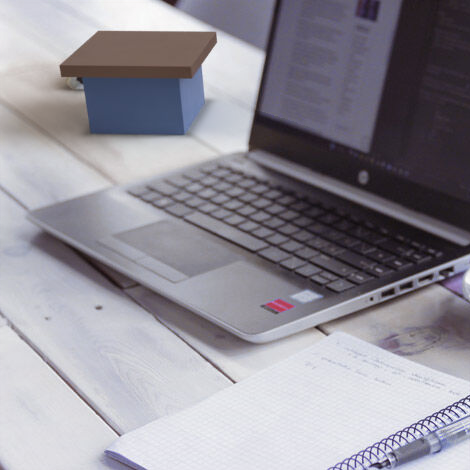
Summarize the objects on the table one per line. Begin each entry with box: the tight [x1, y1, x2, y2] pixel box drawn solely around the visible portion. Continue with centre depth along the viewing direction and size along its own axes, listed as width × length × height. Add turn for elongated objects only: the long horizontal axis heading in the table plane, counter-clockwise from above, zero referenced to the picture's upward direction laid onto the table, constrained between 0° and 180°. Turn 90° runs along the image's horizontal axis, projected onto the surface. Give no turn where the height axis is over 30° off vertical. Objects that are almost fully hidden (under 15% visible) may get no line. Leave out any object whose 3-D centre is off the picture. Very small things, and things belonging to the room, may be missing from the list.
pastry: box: [66, 77, 84, 91], centre depth 137 cm, size 9×7×4 cm
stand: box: [58, 30, 218, 136], centre depth 122 cm, size 16×15×10 cm
